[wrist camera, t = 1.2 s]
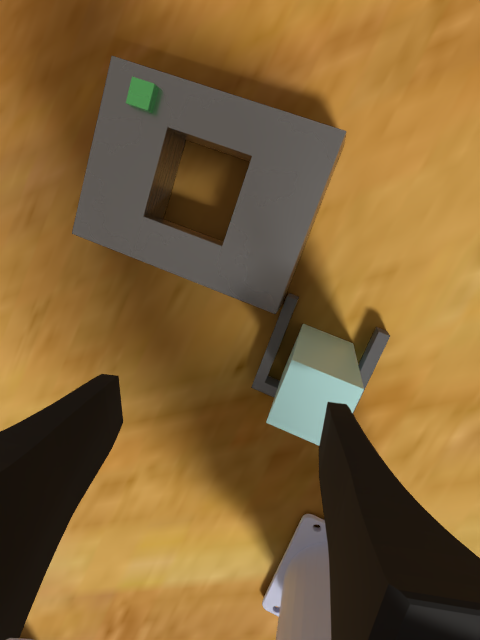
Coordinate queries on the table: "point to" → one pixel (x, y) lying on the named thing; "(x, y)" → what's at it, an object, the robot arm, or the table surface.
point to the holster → (262, 378)
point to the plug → (315, 383)
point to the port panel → (160, 171)
